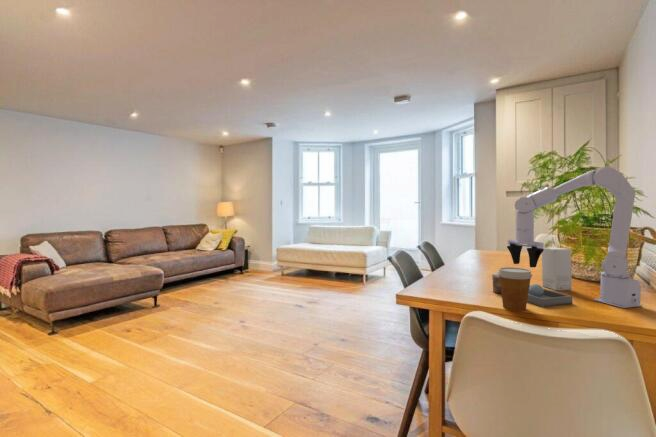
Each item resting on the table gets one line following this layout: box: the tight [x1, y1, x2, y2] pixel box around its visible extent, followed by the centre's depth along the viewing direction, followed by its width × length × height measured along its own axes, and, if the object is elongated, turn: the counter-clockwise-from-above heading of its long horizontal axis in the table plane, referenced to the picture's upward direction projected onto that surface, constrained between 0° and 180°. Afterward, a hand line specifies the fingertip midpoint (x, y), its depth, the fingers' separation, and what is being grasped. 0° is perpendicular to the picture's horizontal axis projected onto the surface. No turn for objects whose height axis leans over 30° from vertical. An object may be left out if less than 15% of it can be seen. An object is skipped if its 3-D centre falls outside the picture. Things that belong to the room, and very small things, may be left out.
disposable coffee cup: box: [497, 266, 533, 312], centre depth 106 cm, size 10×10×12 cm
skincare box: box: [541, 246, 573, 292], centre depth 131 cm, size 8×7×16 cm
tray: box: [527, 284, 573, 308], centre depth 116 cm, size 16×12×2 cm
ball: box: [529, 283, 544, 297], centre depth 116 cm, size 4×4×4 cm
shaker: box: [491, 273, 502, 295], centre depth 125 cm, size 5×5×6 cm
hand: (524, 265), depth 128 cm, fingers open, 7 cm apart
